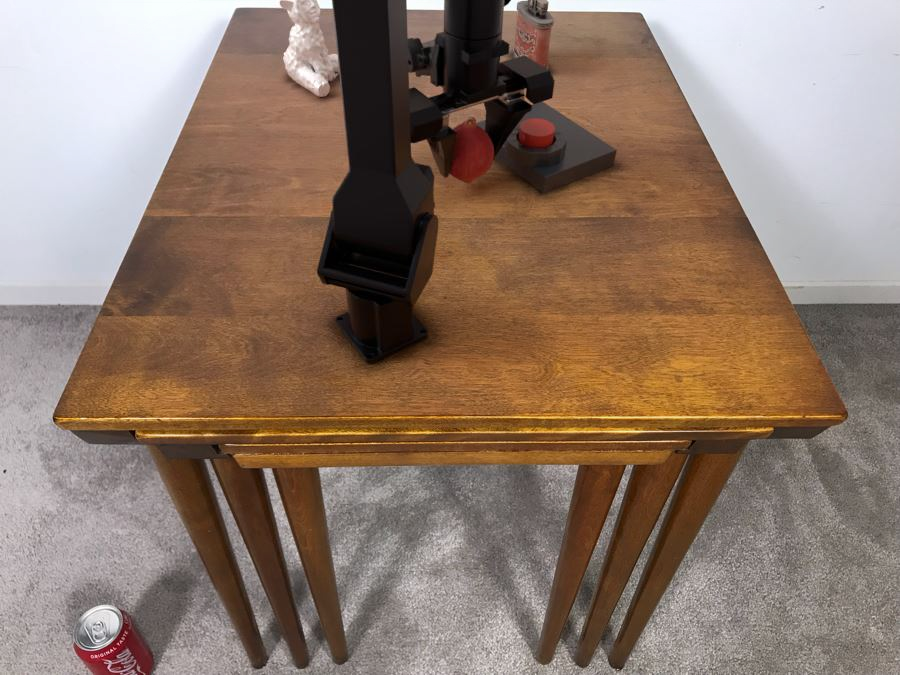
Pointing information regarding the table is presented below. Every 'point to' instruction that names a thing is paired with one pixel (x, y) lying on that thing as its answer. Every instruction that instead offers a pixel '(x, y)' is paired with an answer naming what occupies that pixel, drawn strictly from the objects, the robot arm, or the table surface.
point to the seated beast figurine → (308, 48)
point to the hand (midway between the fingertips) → (466, 167)
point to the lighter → (533, 31)
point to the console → (555, 152)
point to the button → (536, 133)
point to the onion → (471, 151)
